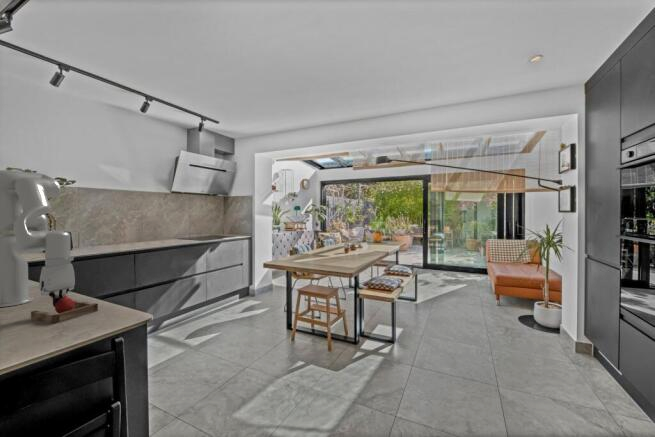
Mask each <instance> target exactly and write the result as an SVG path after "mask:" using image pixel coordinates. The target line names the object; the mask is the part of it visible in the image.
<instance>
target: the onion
mask: <svg viewBox="0 0 655 437" xmlns="http://www.w3.org/2000/svg"><path fill="white" fill-rule="evenodd" d="M74 301H75V300H73V299H71V298H70V297H68V295H67V294H66V295H65V296H64V297H63V298H61V299H60V300H59V301H58V302H57V303H56V305H55V307H54V309H55V312H56V314H59V313H63V312H66V311H70V310H73V308H74V306H75V303H74Z"/></svg>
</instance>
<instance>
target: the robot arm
mask: <svg viewBox="0 0 655 437" xmlns="http://www.w3.org/2000/svg"><path fill="white" fill-rule="evenodd" d="M61 194H62V187H61V185H60V183H59V181H58V180H56V179H55V178H54V177H51V176H50V175H47V174H43V173H40V172H29V171H20V170H12V169H11V170H10V169H9V170H8V169H5V170H4V169H0V229H1V230H3V231H10V232H11V231H12V232H13V233H3V234H0V308H4V307H12V306H13V307H14V306H19V305H23V304H27V303H30V302H32V301H34V297H33V296H29V264H28V263H29V262H28V261H27V260H26V259H25V258H24V257H23V256H21V255H24V254H33V253H40V252H44V255H45V256H44V258H45V260H44V266H42V268H41V271H40V275H39V284H38V285H39V286H38V289H39V291H40V292H41V294H40V295H41V296H45V297H46V296H49V297H51V298H52V306H53V307H54V308H55V305H56V303H57V302H58V301H59V300H60V299H61V298H63V297H64V296H65V295H67V294H68V292H70V291H72V290H74V289H75V285H76V284H75V283H76V282H75V281H76V278H75V277H76V275H75V270H74V269H75V268H74V265H73V264H72V263H71V262H72V261H74V257H73V256H71V233H69V232H67V231H61V230H58V229H57V230H56V229H54V230H53V229H51V230H49V229H48V227H49V226H48V219H47V218H48V217H47V214H48V213H49V212H51V209H52V208H51V207H52V206H51V205H50V202H49V199H48V198H53V199H54V198H58V197H59V196H60V195H61Z"/></svg>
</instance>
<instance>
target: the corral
mask: <svg viewBox="0 0 655 437" xmlns="http://www.w3.org/2000/svg"><path fill="white" fill-rule="evenodd" d="M73 301H74V303H75V306H74V308H73V310H70V311H66V312H63V313H52V312H47V311H42V310H32V311H30V320H31V321H32V320H33V321H38V322H43V323H49V324H54V325H55V324H59V323H62V322H65V321H68V320H69V321H70V320H73V319H76V318H78V317H82V316H85V315H89V314H92V313H96V312H99V304H98V303H95V302H88V301H81V300H73Z"/></svg>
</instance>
